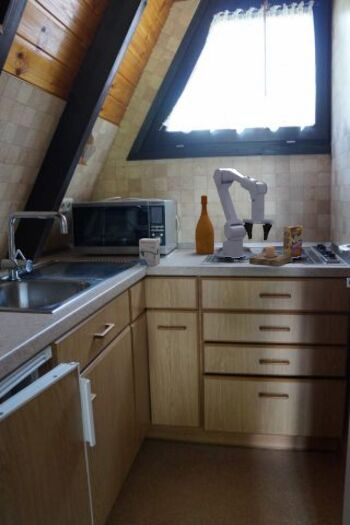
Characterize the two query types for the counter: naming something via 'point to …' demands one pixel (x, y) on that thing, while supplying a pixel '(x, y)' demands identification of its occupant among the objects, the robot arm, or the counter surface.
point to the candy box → (292, 241)
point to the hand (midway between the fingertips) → (257, 239)
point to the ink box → (149, 251)
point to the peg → (270, 252)
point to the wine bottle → (204, 231)
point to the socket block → (270, 259)
